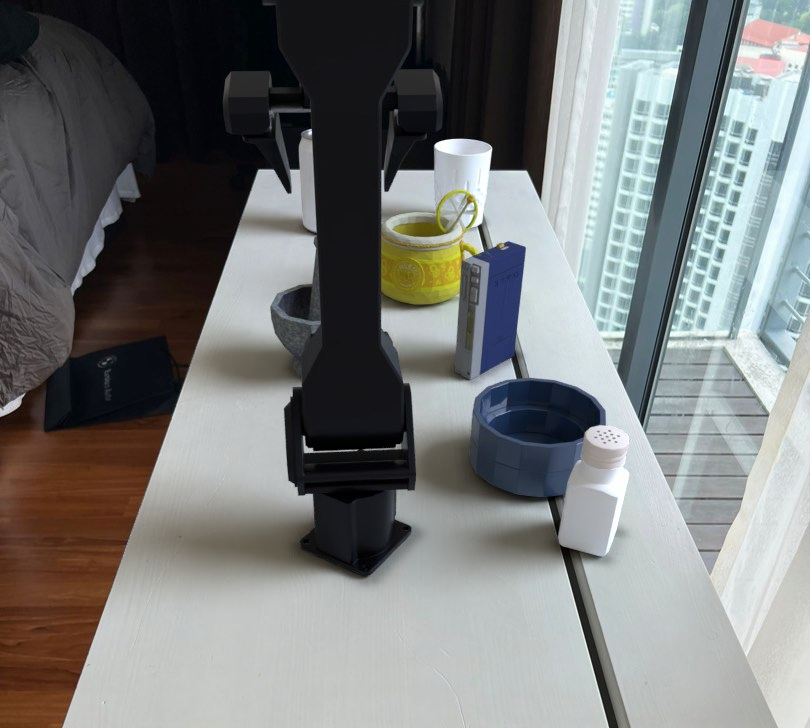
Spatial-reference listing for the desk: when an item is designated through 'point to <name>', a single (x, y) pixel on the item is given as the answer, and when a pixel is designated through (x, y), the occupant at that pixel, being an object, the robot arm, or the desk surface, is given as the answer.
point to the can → (307, 181)
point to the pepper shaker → (595, 492)
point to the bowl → (531, 434)
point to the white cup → (462, 175)
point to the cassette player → (488, 308)
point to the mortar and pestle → (297, 315)
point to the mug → (425, 253)
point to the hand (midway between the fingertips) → (338, 190)
